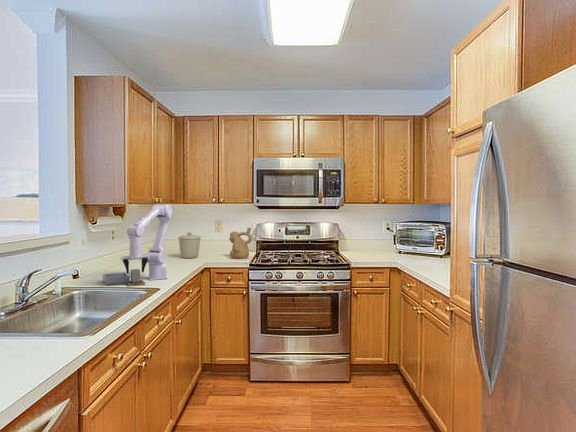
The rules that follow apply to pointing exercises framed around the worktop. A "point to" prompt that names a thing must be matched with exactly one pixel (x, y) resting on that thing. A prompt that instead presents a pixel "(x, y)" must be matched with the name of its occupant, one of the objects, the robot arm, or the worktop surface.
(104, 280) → the bin
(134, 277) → the strut
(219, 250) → the worktop surface
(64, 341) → the worktop surface
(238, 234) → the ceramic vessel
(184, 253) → the canister
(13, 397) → the worktop surface
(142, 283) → the socket
